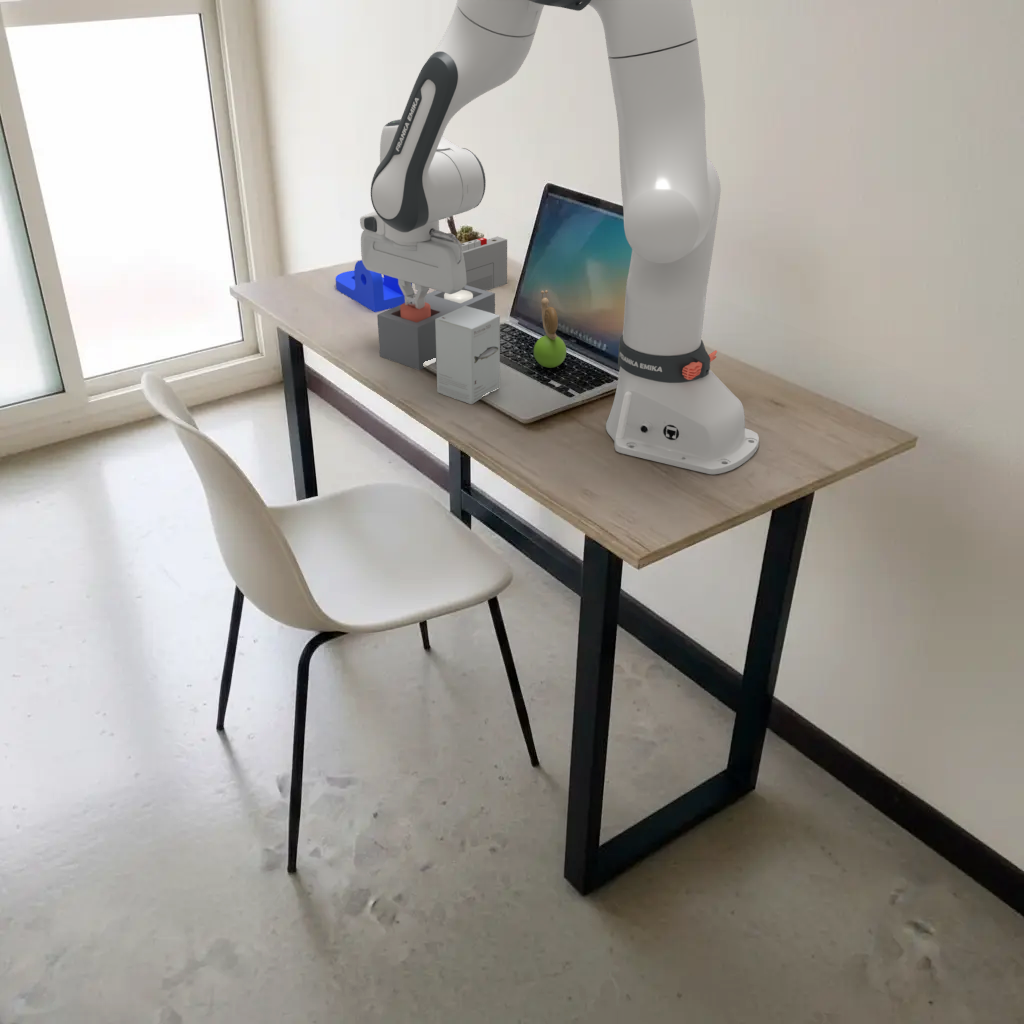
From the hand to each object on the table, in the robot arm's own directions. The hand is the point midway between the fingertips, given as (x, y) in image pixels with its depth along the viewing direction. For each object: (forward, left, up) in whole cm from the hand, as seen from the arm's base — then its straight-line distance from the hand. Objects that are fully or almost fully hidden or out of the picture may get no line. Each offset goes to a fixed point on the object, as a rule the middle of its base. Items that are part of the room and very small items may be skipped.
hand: (415, 306), depth 175 cm
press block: (0, -5, -9) cm, 10 cm away
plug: (0, -11, -8) cm, 13 cm away
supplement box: (-16, +6, -9) cm, 19 cm away
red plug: (0, 0, -7) cm, 7 cm away
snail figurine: (-20, -10, -9) cm, 24 cm away
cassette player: (+12, -29, -9) cm, 33 cm away
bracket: (+27, -16, -9) cm, 33 cm away
